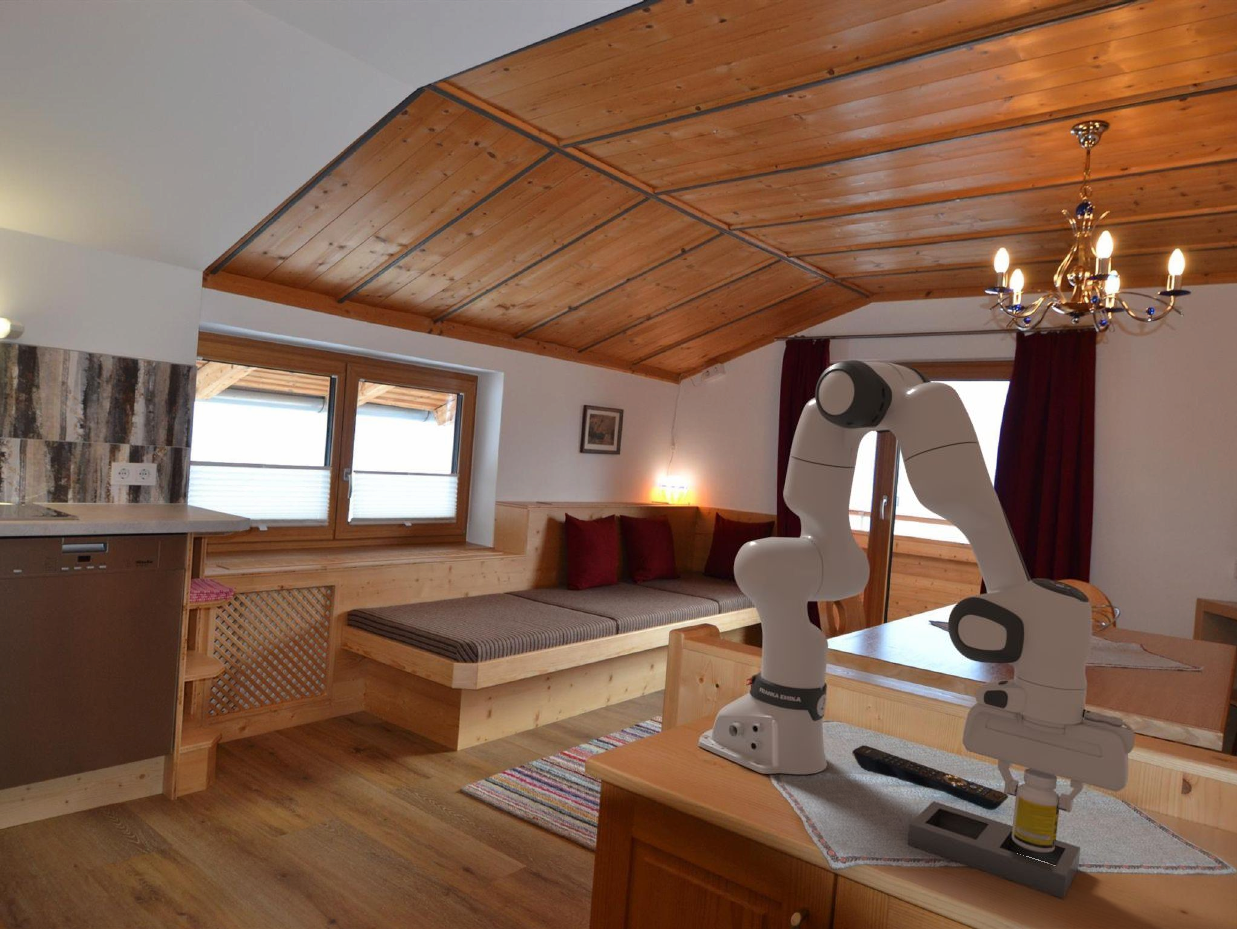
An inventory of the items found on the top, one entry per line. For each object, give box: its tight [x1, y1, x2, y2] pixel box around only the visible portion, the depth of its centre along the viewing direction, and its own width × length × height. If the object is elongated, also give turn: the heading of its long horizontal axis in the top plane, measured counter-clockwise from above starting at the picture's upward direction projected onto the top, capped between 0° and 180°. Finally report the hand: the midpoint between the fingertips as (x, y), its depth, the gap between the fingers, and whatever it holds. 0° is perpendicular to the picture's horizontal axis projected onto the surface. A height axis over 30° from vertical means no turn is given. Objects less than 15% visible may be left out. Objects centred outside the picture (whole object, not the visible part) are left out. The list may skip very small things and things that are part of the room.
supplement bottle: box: [1012, 768, 1060, 853], centre depth 119 cm, size 5×5×10 cm
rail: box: [907, 800, 1081, 900], centre depth 122 cm, size 20×11×3 cm, turn 54°
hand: (1037, 801), depth 119 cm, fingers closed on supplement bottle, 5 cm apart
